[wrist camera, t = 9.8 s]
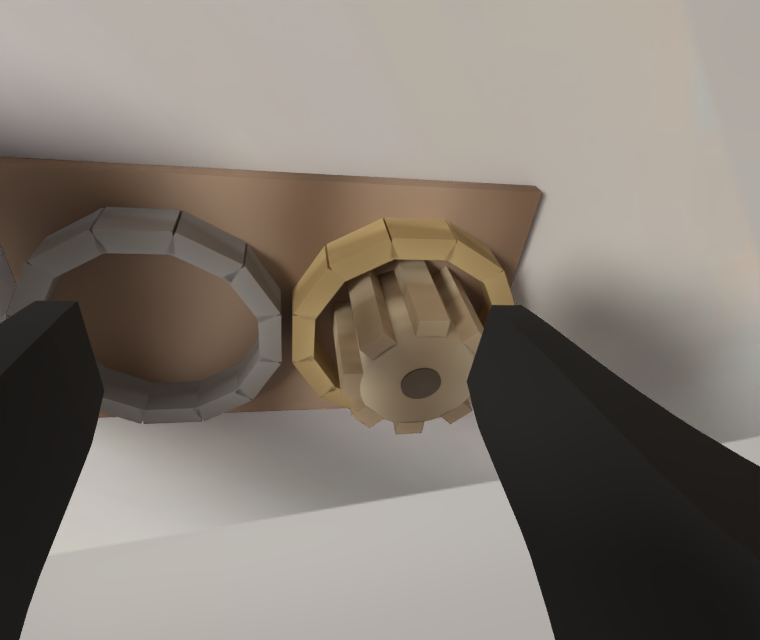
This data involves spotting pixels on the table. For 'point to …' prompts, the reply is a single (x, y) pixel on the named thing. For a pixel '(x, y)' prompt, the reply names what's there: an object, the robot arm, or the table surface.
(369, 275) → the gear
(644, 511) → the robot arm
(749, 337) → the table surface
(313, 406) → the gear board
